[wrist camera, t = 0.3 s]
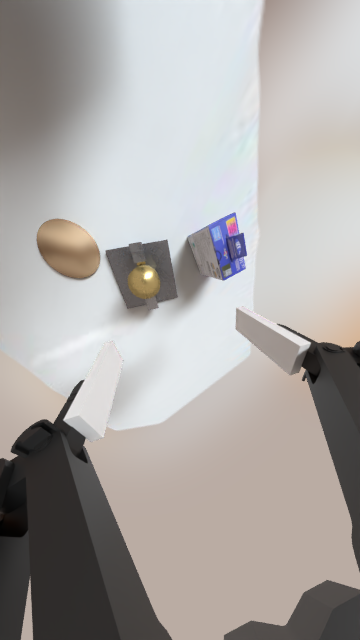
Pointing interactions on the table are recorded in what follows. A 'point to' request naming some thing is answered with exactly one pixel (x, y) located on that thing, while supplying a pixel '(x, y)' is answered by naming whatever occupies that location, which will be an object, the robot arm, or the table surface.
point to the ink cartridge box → (219, 248)
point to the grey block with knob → (153, 256)
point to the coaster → (68, 248)
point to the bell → (144, 281)
